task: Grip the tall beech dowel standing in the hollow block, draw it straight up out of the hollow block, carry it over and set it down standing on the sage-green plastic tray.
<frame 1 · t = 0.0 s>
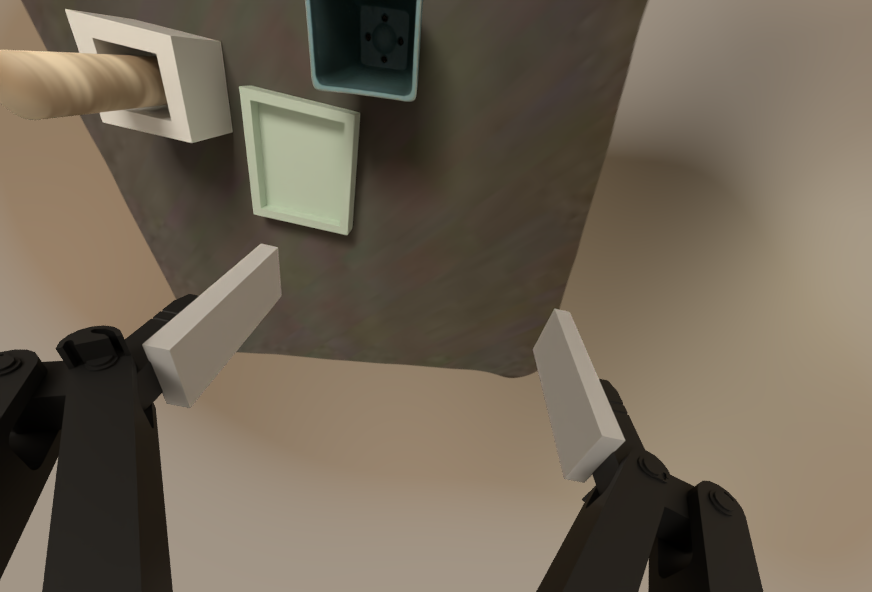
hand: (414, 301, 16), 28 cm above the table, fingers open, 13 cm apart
flower pot: (386, 38, 33), on the table
dowel: (182, 80, 35), point 1 cm above the table, touching hollow block
tray: (307, 164, 40), on the table
hollow block: (187, 80, 36), on the table
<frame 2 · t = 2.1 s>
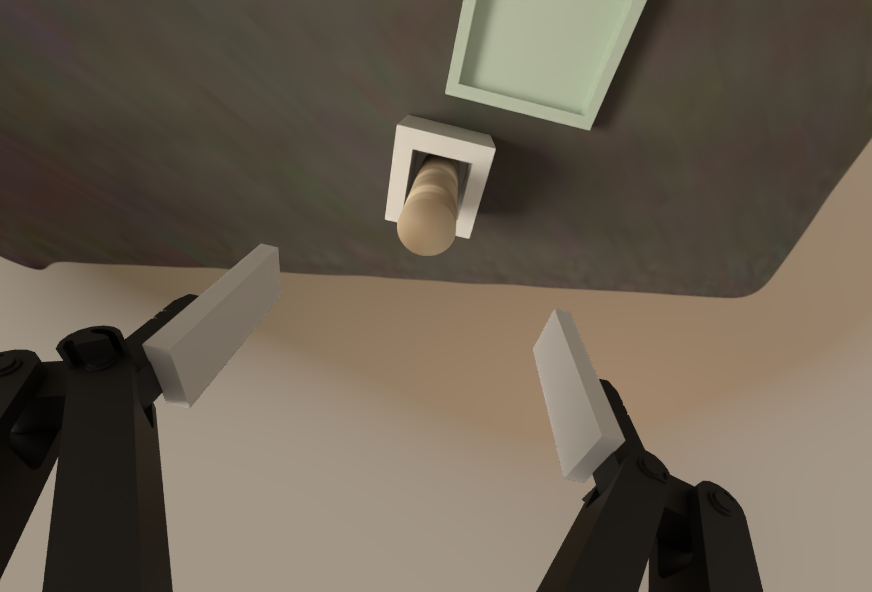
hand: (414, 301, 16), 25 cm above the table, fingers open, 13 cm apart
dowel: (440, 169, 35), point 1 cm above the table, touching hollow block
tray: (538, 33, 29), on the table
hollow block: (440, 167, 36), on the table
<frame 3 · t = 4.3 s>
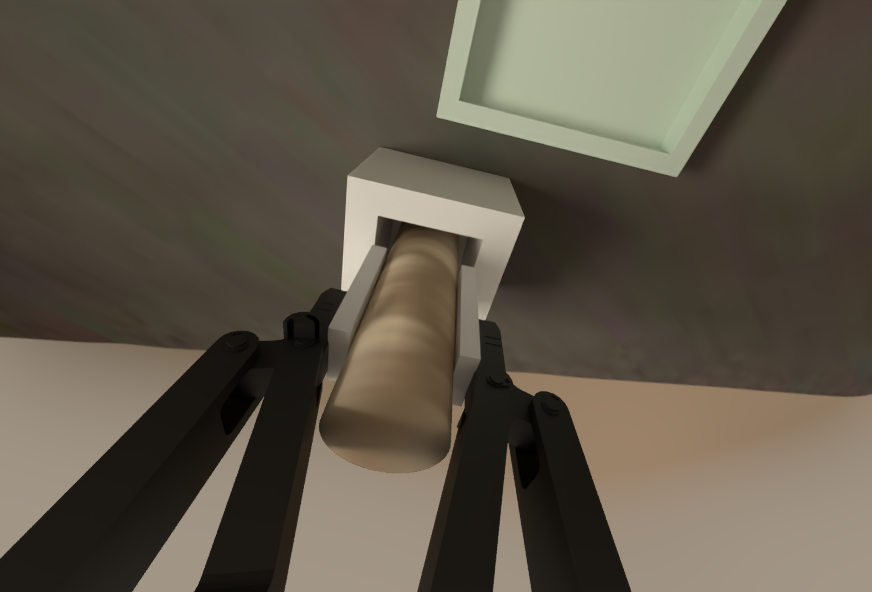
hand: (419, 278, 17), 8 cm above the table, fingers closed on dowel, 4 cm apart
dowel: (430, 228, 23), point 1 cm above the table, touching hollow block, gripper
tray: (598, 15, 17), on the table
hollow block: (431, 223, 24), on the table
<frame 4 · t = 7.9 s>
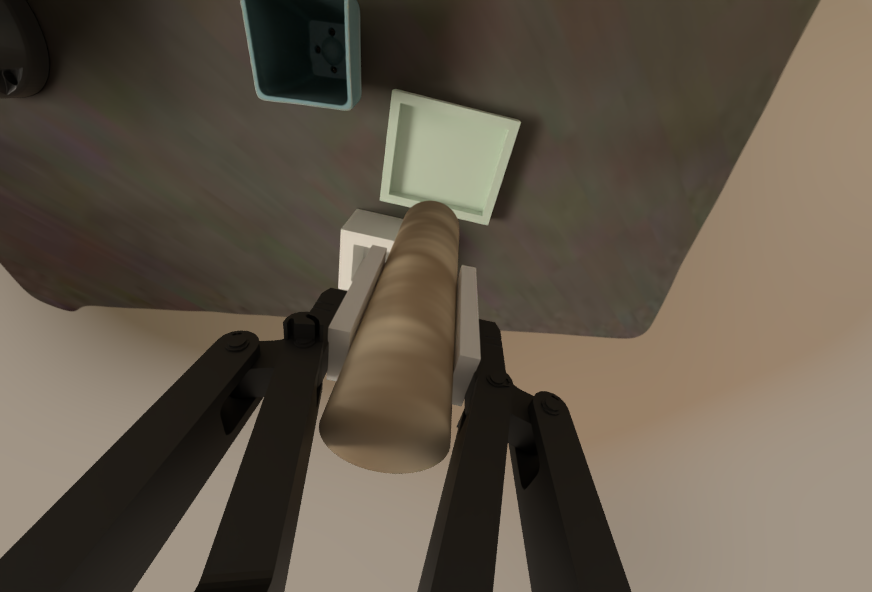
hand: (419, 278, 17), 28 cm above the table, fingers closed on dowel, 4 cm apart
flower pot: (334, 50, 35), on the table
dowel: (430, 228, 23), point 21 cm above the table, touching gripper
tray: (445, 159, 40), on the table
hollow block: (384, 243, 47), on the table
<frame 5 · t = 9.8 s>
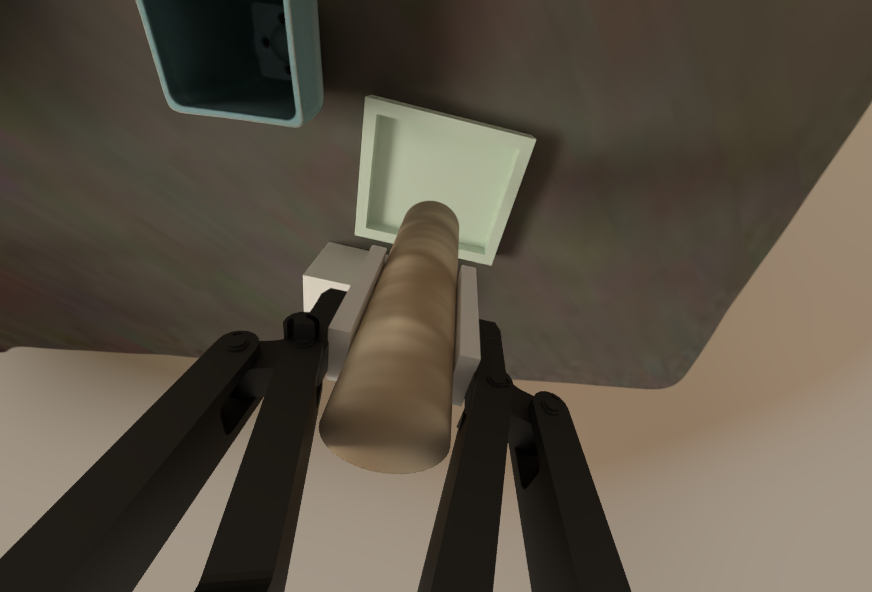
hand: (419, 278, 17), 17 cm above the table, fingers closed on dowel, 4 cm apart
flower pot: (288, 44, 26), on the table
dowel: (430, 228, 23), point 10 cm above the table, touching gripper
tray: (438, 184, 31), on the table
hollow block: (364, 282, 38), on the table
when the fingers open (9 cm above the table, at t = 11.6 s): dowel drops 1 cm, resting on tray.
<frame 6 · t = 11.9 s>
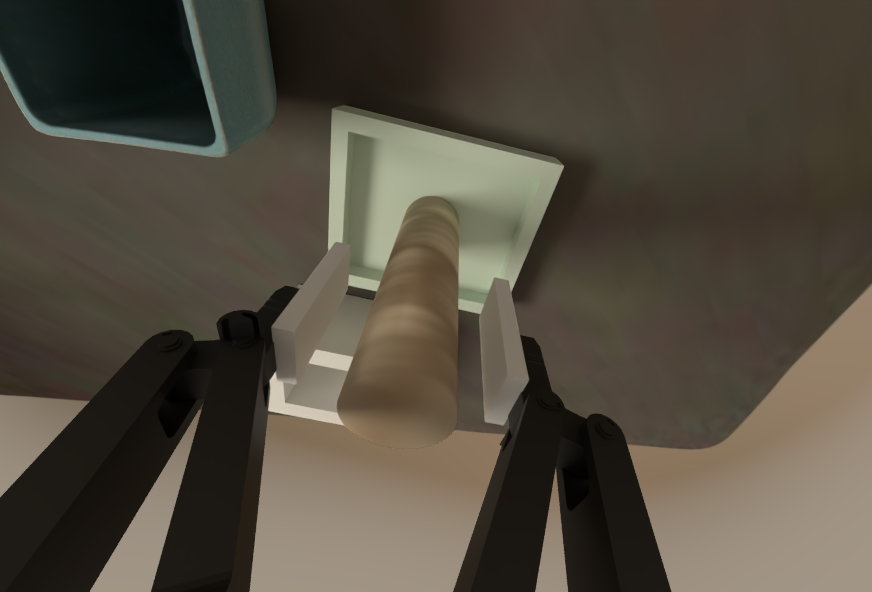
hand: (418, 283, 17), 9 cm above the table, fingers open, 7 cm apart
flower pot: (229, 37, 19), on the table
dowel: (431, 223, 24), point 1 cm above the table, touching tray
tray: (432, 218, 25), on the table
hollow block: (344, 330, 32), on the table
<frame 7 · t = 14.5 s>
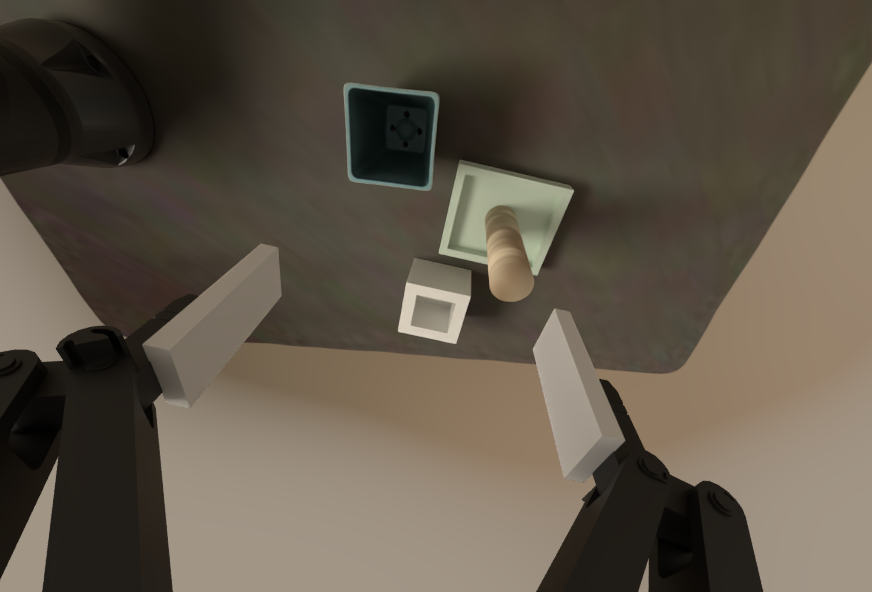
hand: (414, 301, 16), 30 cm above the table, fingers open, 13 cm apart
flower pot: (406, 128, 39), on the table
dowel: (500, 220, 43), point 1 cm above the table, touching tray
tray: (500, 217, 44), on the table
hollow block: (437, 287, 51), on the table
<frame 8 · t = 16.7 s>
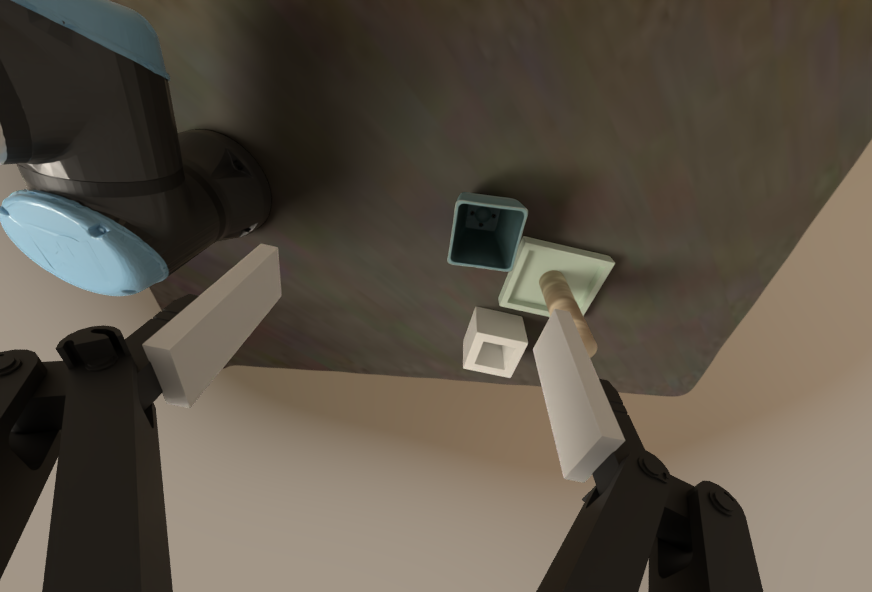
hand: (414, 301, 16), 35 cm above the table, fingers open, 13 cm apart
flower pot: (482, 212, 49), on the table
dowel: (551, 280, 53), point 1 cm above the table, touching tray
tray: (550, 278, 54), on the table
hollow block: (491, 329, 61), on the table
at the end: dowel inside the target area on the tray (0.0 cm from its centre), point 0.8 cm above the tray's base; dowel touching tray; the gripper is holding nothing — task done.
